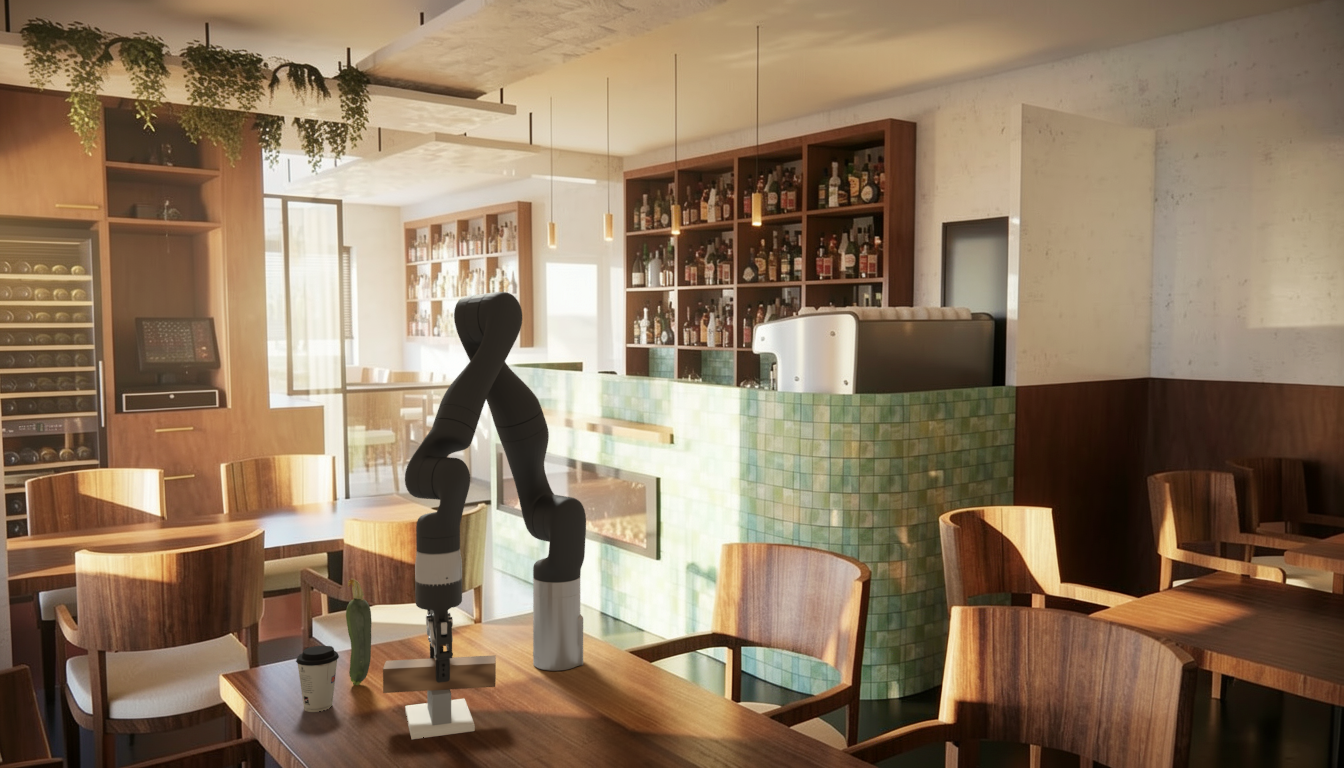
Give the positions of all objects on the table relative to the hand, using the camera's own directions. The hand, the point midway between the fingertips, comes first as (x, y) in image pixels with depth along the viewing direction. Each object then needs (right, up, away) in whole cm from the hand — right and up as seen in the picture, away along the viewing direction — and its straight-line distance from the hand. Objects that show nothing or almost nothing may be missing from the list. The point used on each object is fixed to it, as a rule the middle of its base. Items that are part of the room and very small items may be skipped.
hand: (439, 672), depth 158 cm
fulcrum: (0, -8, 0) cm, 8 cm away
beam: (0, -2, 0) cm, 2 cm away
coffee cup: (-22, -8, +6) cm, 25 cm away
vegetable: (-19, -8, +16) cm, 26 cm away
